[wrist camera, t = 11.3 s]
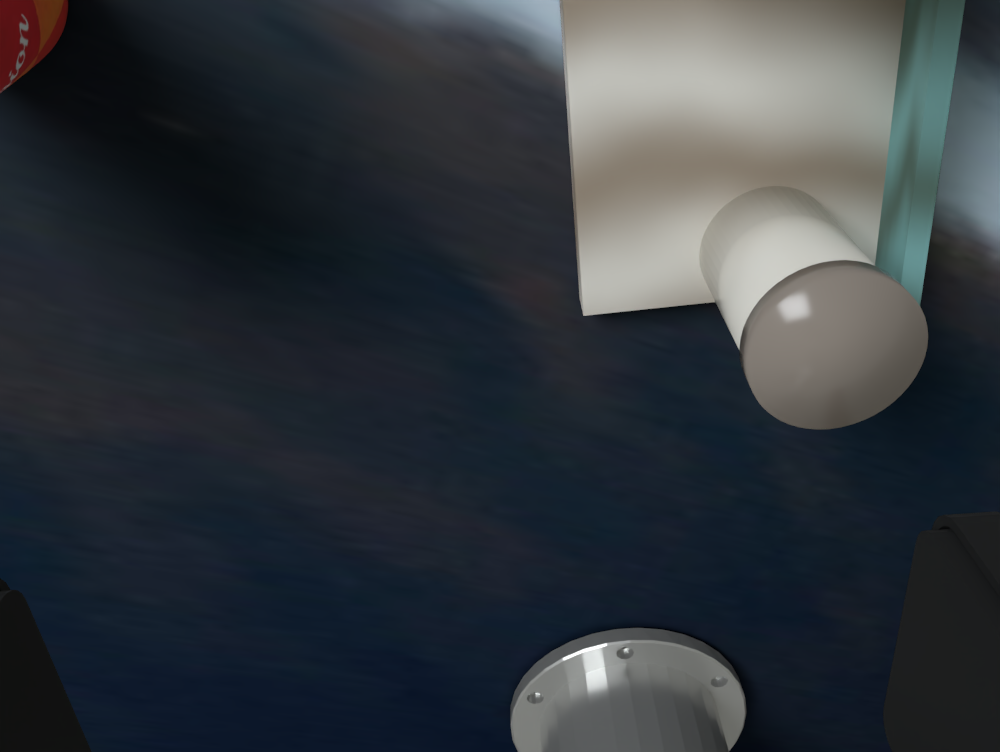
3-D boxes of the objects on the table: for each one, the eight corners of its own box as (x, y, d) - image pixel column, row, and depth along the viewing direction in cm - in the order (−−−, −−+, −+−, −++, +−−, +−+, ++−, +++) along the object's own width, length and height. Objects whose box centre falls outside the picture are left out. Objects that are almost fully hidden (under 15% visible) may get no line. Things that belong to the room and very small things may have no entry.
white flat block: (878, 267, 37) (918, 311, 33) (579, 298, 37) (589, 345, 34) (965, -458, 25) (1039, -500, 22) (532, -402, 26) (541, -434, 22)
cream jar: (832, 305, 36) (915, 420, 29) (693, 320, 36) (744, 437, 29) (844, 172, 33) (940, 264, 26) (694, 189, 33) (750, 284, 27)
